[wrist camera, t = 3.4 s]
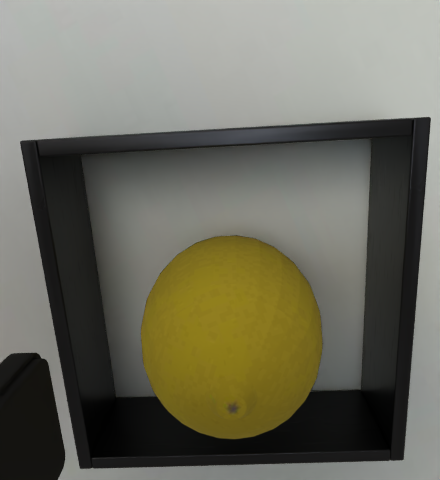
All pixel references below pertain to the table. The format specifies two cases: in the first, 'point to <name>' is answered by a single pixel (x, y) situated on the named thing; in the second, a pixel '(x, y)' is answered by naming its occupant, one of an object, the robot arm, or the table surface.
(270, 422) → the lemon
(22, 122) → the table surface
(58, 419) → the robot arm
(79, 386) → the black square frame
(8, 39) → the table surface
